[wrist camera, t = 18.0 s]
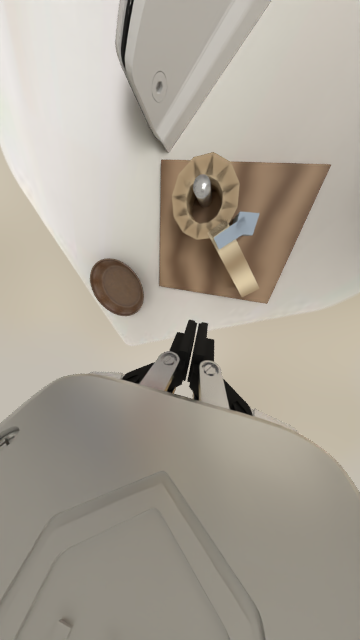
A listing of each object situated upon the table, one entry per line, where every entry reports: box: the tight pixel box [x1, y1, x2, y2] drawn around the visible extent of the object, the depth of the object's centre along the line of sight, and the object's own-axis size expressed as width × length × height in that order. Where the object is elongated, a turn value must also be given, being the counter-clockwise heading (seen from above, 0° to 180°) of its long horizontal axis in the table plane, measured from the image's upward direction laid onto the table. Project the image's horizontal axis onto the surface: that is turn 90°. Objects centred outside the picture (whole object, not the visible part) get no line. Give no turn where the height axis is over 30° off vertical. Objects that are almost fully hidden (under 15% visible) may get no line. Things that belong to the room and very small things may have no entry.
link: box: [172, 152, 260, 297], centre depth 24 cm, size 20×9×6 cm, turn 36°
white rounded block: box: [115, 0, 271, 153], centre depth 15 cm, size 17×5×10 cm, turn 130°
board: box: [159, 160, 331, 304], centre depth 27 cm, size 24×21×1 cm
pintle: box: [193, 174, 212, 207], centre depth 21 cm, size 2×2×8 cm
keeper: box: [214, 212, 259, 249], centre depth 23 cm, size 5×5×8 cm
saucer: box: [90, 259, 144, 316], centre depth 36 cm, size 15×15×3 cm
